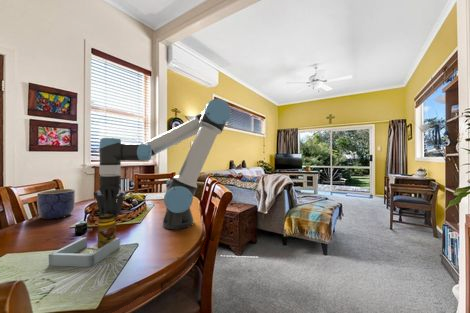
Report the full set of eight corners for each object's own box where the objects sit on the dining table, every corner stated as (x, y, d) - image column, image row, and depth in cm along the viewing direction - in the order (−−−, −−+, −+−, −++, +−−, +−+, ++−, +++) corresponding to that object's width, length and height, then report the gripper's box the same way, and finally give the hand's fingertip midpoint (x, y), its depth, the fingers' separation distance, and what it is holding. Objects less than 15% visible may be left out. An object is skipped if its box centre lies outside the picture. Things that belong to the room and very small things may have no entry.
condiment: (107, 250, 76) (107, 218, 76) (87, 248, 78) (87, 217, 78) (121, 242, 84) (121, 212, 84) (103, 240, 85) (103, 211, 85)
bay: (119, 247, 79) (119, 238, 79) (91, 266, 65) (91, 255, 65) (84, 246, 80) (84, 237, 80) (48, 265, 66) (48, 254, 66)
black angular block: (80, 238, 89) (80, 228, 89) (62, 239, 88) (62, 228, 88) (97, 228, 101) (97, 219, 101) (81, 229, 100) (81, 219, 100)
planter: (37, 216, 120) (37, 191, 120) (73, 211, 132) (73, 188, 132) (37, 223, 108) (36, 195, 108) (76, 216, 119) (76, 191, 119)
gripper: (130, 174, 88) (130, 229, 88) (102, 174, 89) (101, 228, 89) (119, 176, 81) (119, 236, 81) (88, 175, 82) (88, 235, 82)
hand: (110, 232), depth 85 cm, fingers closed
